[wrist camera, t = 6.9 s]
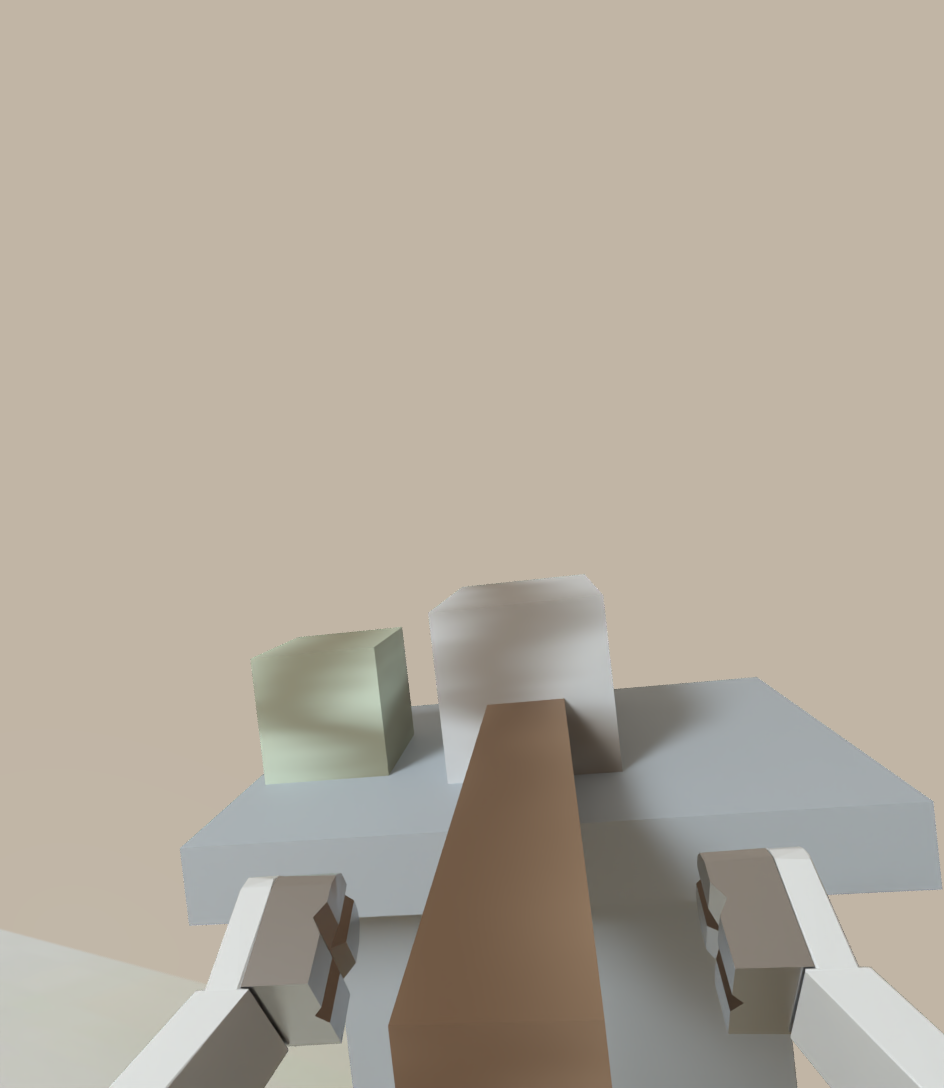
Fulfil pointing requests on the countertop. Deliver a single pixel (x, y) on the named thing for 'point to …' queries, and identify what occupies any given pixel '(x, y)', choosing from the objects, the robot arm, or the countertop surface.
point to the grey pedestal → (598, 863)
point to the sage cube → (333, 706)
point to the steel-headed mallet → (513, 846)
